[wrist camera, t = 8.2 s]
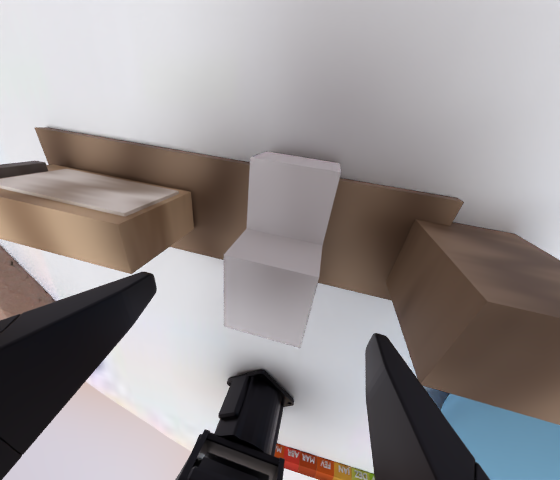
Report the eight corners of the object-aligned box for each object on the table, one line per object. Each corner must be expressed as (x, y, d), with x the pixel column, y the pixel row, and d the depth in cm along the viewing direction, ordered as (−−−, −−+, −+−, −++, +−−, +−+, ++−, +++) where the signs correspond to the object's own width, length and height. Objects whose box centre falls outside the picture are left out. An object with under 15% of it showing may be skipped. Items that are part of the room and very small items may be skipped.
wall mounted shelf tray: (190, 183, 15) (115, 212, 10) (194, 229, 17) (131, 273, 12) (50, 156, 17) (-77, 169, 12) (67, 200, 19) (-37, 228, 13)
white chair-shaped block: (339, 163, 13) (343, 187, 7) (310, 281, 17) (300, 348, 12) (266, 151, 13) (223, 166, 8) (256, 268, 18) (224, 326, 12)
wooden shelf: (532, 211, 12) (785, 318, 5) (458, 309, 16) (551, 445, 9) (46, 127, 17) (-152, 127, 10) (80, 219, 21) (-47, 265, 14)
